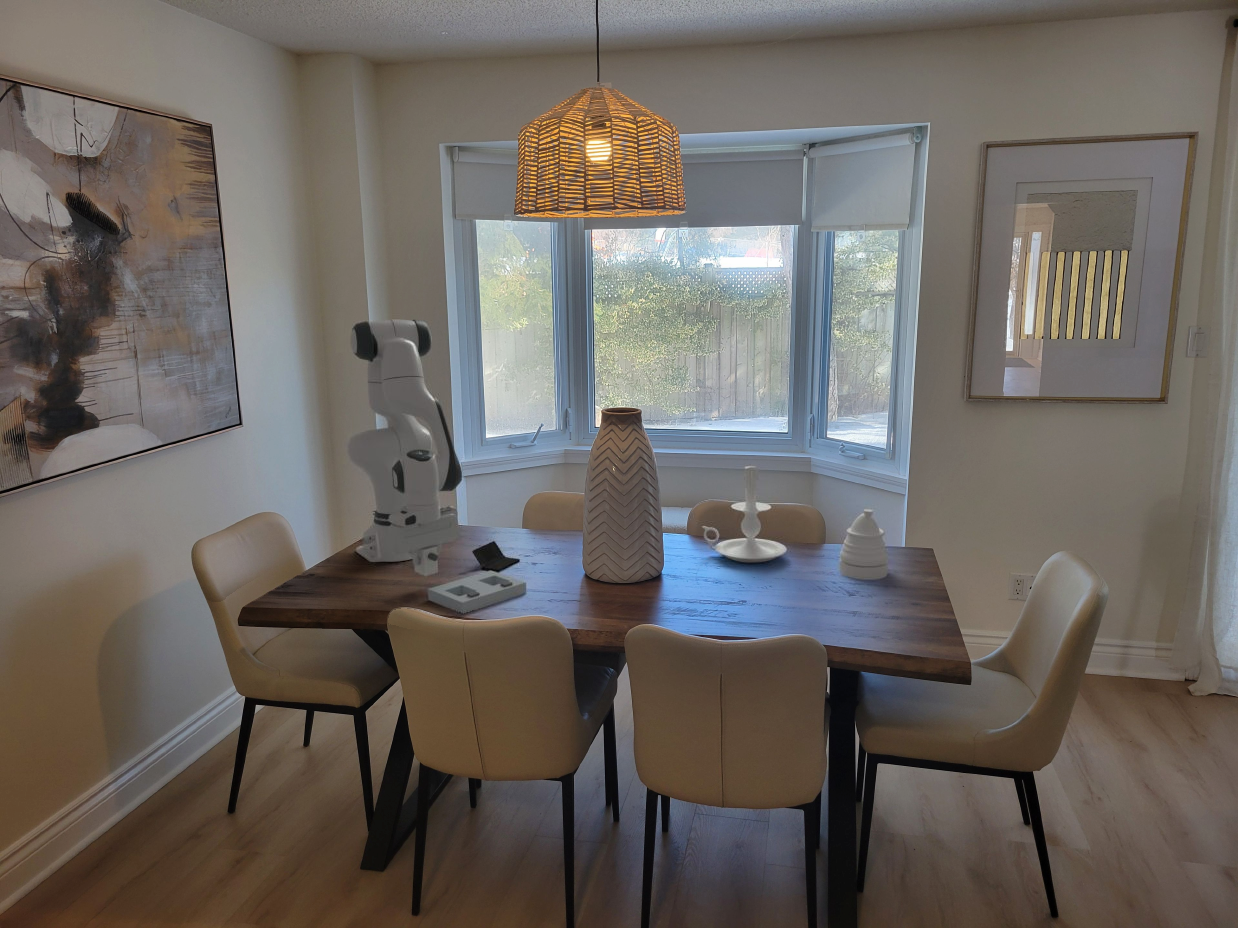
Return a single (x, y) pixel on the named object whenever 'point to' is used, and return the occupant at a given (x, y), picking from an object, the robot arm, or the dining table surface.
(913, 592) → the dining table surface
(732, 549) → the candlestick
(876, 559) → the honey pot
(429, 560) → the plug
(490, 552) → the handheld gaming console
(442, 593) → the plate
